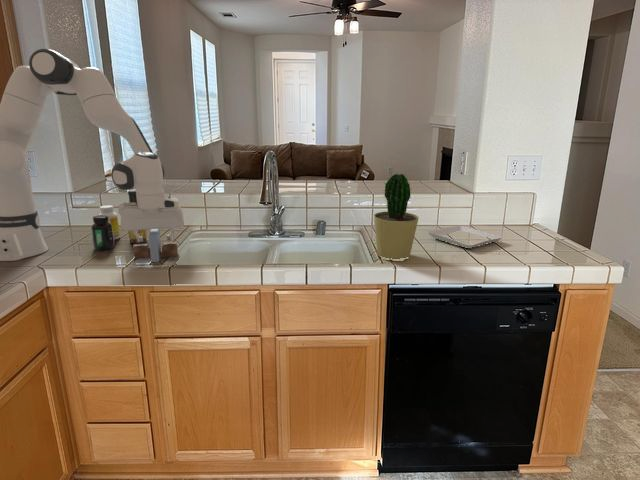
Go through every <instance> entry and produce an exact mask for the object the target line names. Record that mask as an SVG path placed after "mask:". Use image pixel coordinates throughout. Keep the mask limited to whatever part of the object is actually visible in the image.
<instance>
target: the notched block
mask: <svg viewBox="0 0 640 480" xmlns="http://www.w3.org/2000/svg"><path fill="white" fill-rule="evenodd" d="M132 247H133V256H134V258H133V259H135V260H141V259H140V258H142V259H151V254H150V245H149V243H133V246H132ZM159 256H160V258H167V257H168V258H170V257H178V256H179V252H178V242H177V241H169V242H168V241H167V242H163V243H162V245H161V251H159Z"/></svg>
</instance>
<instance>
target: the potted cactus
mask: <svg viewBox="0 0 640 480" xmlns="http://www.w3.org/2000/svg"><path fill="white" fill-rule="evenodd" d="M383 184H384V190H383V192H384V194H383V195H382V196H384V201H386V204H385V207H386V208H387V210H385V211H380V212H376V213H374V214H373V220H374V222H373V223H374V230H375V244H376V253H377V254H378V255H380V256H382V257H385V258H392V259H400V258H406V257H409V256H411V252H412V247H413V243H414V239H415V235H416V231H417V227H418V223H419V216H418V215H417V214H413V213H411V212H408V211H407V209H408V204H409V202H410V200H411V196H412V195H411V193H412V191H411V190H412V189H413V188H411V183H410V182H409V180H408V178H407V176H406V175H405V174H403V173H399V174H397V173H395V174H393V175H392V174H390V177H389V178H388V180H386V182H383ZM377 254H376V255H377ZM378 255H377V256H378ZM409 258H410V257H409Z"/></svg>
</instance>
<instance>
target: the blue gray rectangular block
mask: <svg viewBox="0 0 640 480" xmlns="http://www.w3.org/2000/svg"><path fill="white" fill-rule="evenodd" d="M160 231H161V230H160V229H150V232H149V235H148V241H149V243H148V246H150V254H151V258H150V261H151V263H158V262H160V260H161V257H160V256H159V251H162V245H161V244H162V243H161V235H160V233H161V232H160Z"/></svg>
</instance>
